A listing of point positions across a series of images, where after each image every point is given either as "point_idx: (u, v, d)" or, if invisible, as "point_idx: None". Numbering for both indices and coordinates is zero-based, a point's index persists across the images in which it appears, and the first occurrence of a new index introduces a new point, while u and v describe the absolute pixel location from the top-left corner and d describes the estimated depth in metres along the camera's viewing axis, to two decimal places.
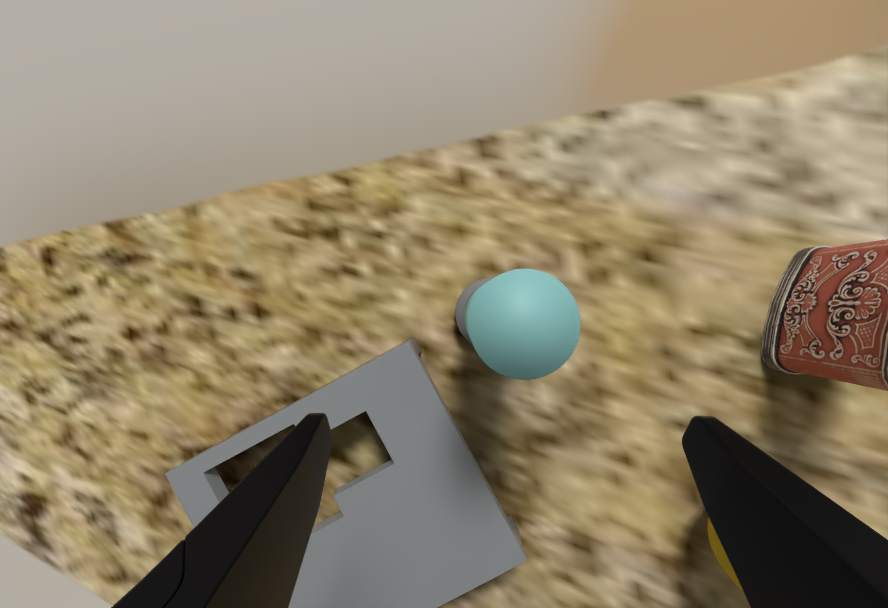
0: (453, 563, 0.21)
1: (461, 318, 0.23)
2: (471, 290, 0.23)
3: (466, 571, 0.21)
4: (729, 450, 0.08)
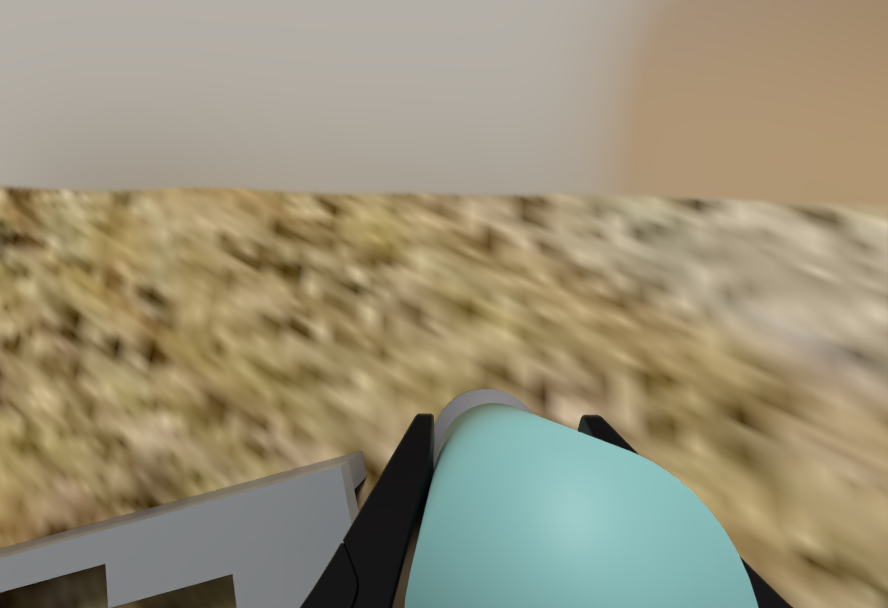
0: None
1: (439, 443, 0.15)
2: (465, 402, 0.15)
3: None
4: None
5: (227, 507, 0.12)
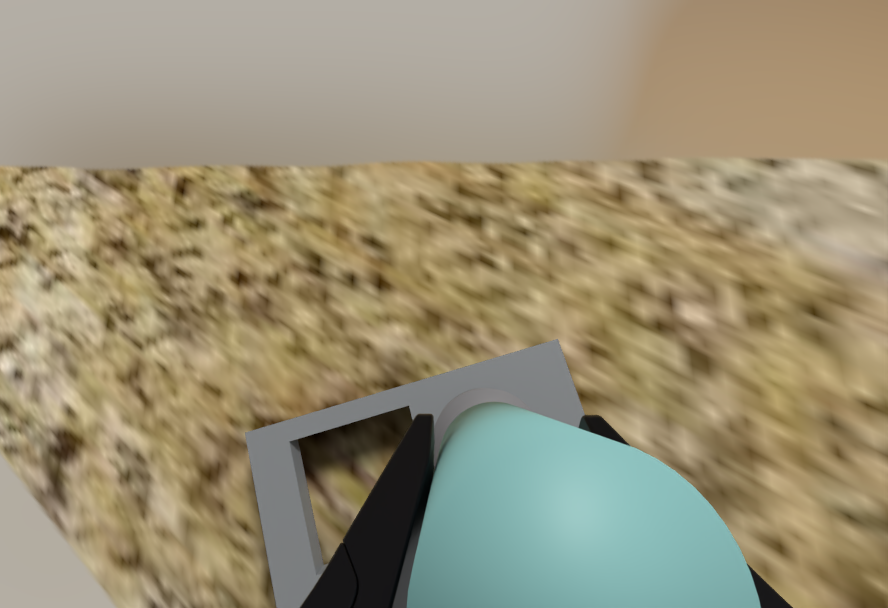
0: None
1: (440, 442, 0.15)
2: (465, 401, 0.15)
3: None
4: None
5: (485, 367, 0.19)
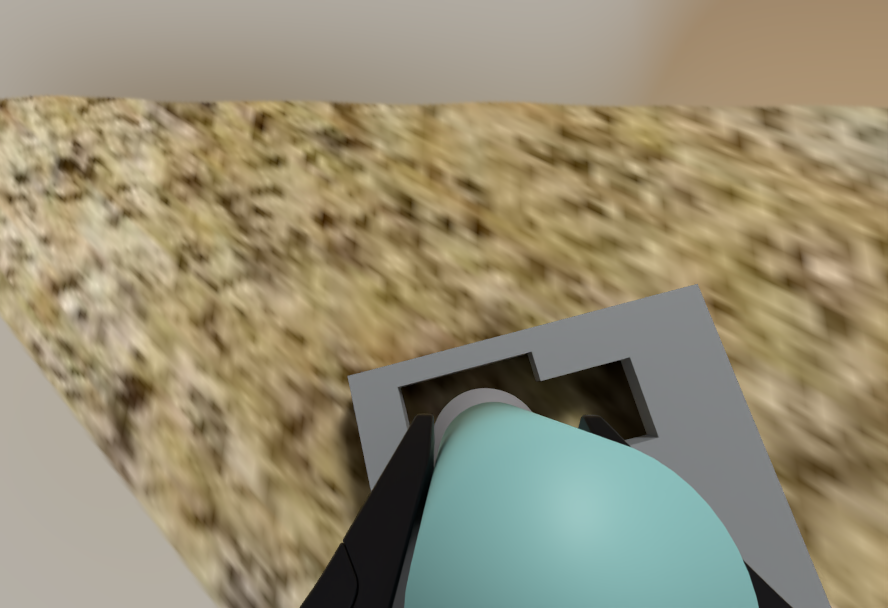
0: None
1: (439, 442, 0.15)
2: (465, 401, 0.15)
3: None
4: None
5: (616, 312, 0.17)
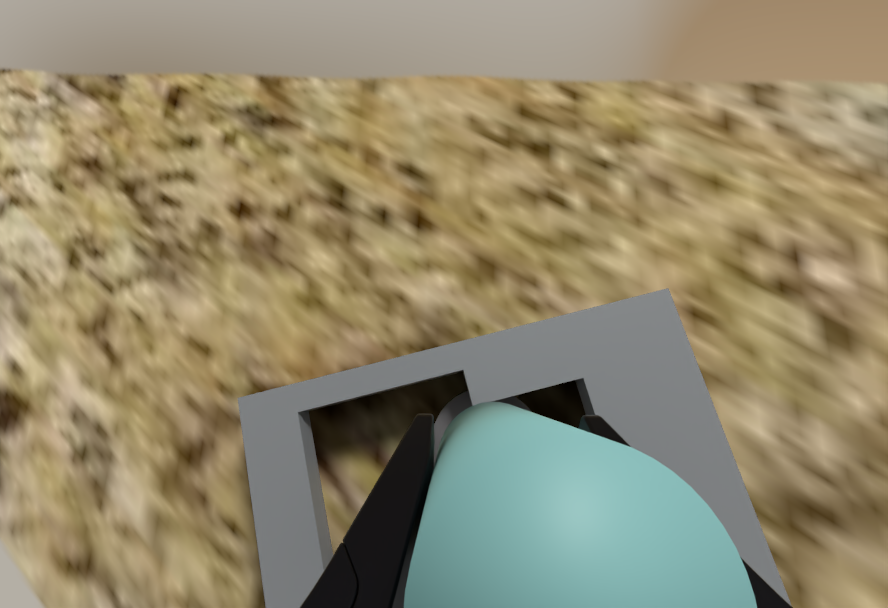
0: None
1: (439, 442, 0.15)
2: (465, 401, 0.15)
3: None
4: None
5: (569, 322, 0.14)
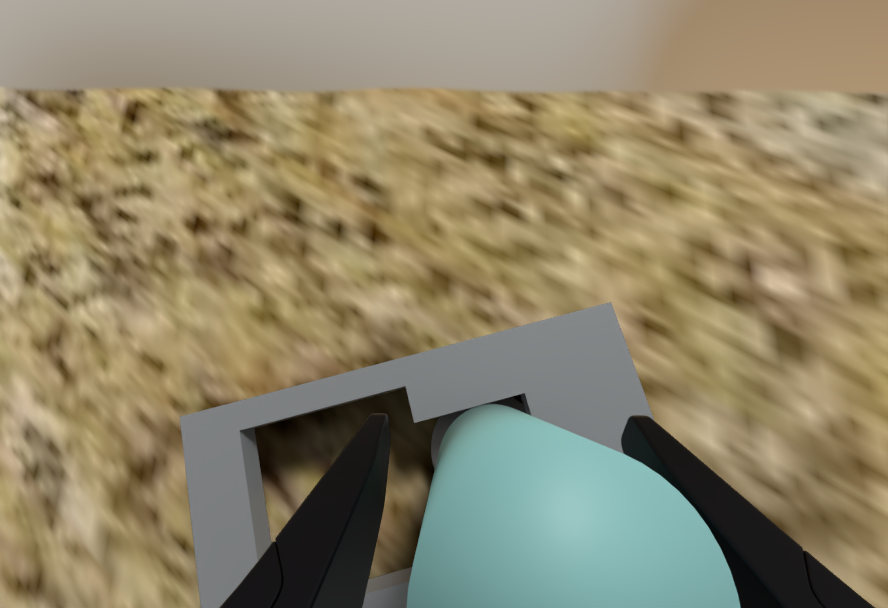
0: None
1: (439, 443, 0.15)
2: None
3: None
4: (656, 449, 0.08)
5: (511, 337, 0.14)
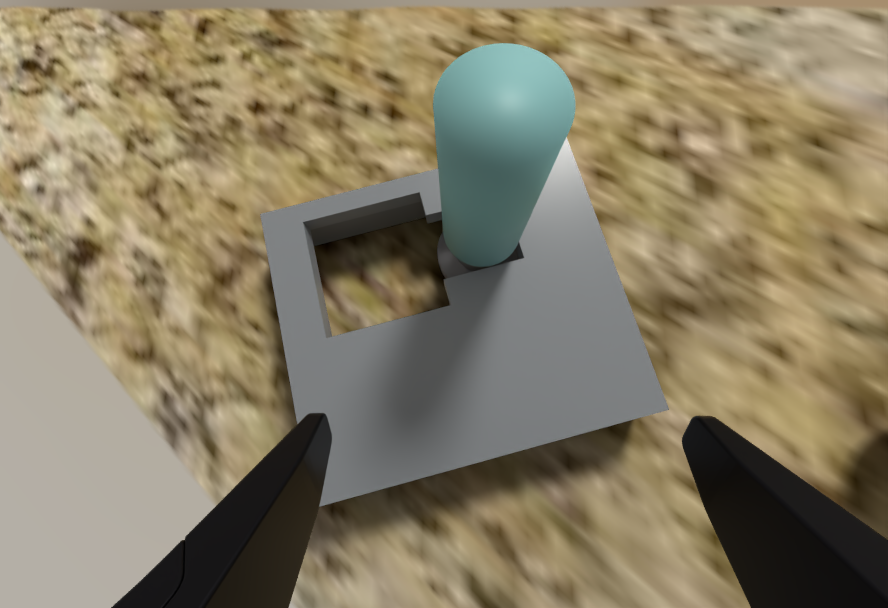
0: (573, 392, 0.17)
1: (443, 247, 0.20)
2: None
3: (588, 405, 0.17)
4: (729, 450, 0.08)
5: None
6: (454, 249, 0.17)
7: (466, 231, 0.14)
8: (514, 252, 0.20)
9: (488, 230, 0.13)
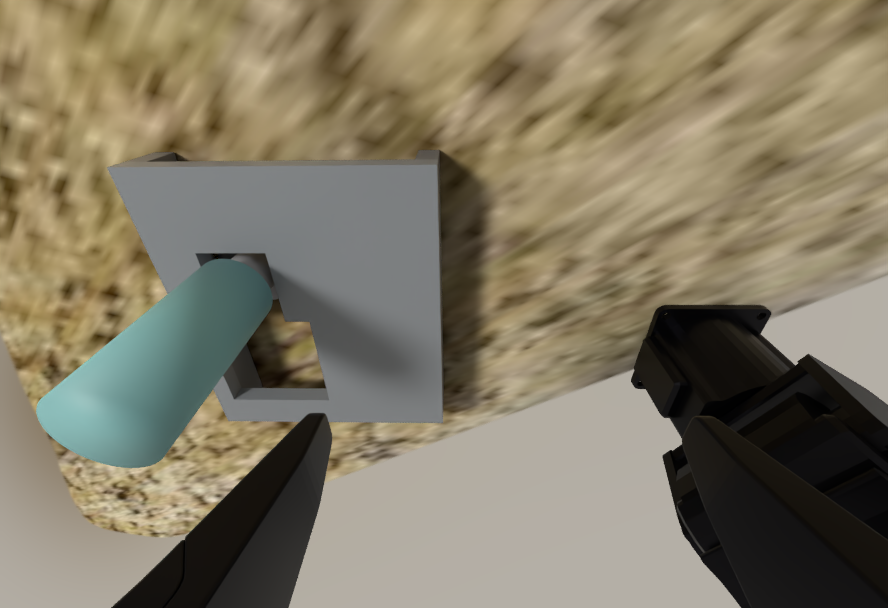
0: (401, 248, 0.18)
1: None
2: None
3: (416, 239, 0.18)
4: (729, 450, 0.08)
5: (153, 251, 0.18)
6: None
7: None
8: None
9: (230, 358, 0.15)
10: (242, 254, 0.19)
